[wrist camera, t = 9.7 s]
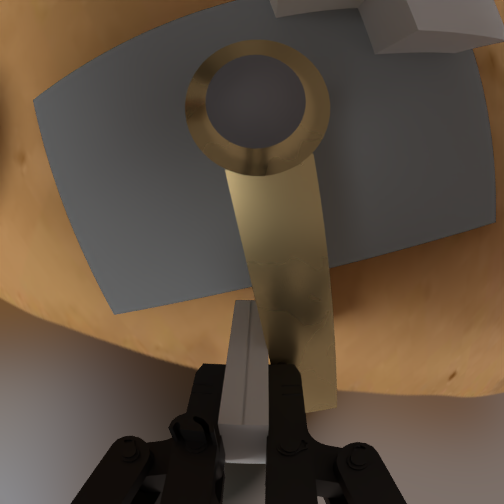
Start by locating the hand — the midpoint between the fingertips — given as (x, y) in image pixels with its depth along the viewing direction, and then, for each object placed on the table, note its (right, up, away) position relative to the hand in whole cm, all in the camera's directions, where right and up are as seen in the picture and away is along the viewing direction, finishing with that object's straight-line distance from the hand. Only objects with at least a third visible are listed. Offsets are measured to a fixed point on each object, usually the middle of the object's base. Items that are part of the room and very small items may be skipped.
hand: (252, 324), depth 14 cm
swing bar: (+1, +5, 0) cm, 5 cm away
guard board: (+1, +9, 0) cm, 9 cm away
